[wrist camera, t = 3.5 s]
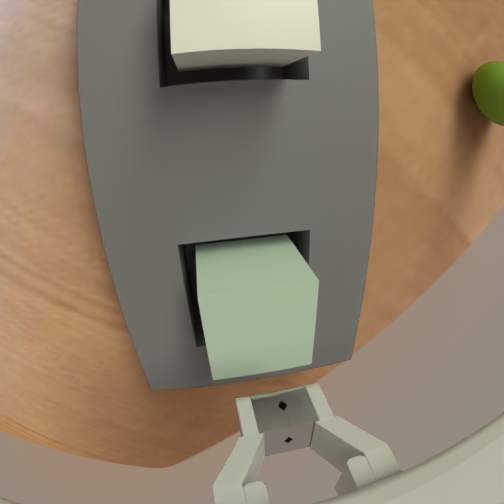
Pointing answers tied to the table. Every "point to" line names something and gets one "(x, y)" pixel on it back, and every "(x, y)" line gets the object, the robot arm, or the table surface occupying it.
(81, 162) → the table surface
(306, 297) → the pale green cube
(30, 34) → the table surface
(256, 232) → the key console
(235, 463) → the robot arm
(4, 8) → the table surface
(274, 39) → the white key
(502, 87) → the snail figurine
